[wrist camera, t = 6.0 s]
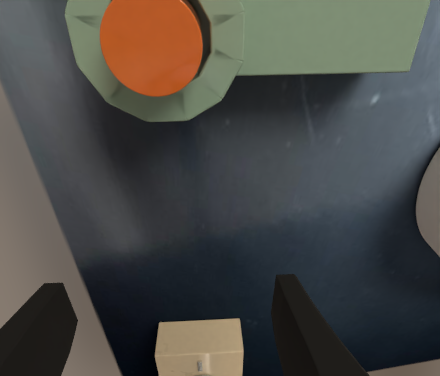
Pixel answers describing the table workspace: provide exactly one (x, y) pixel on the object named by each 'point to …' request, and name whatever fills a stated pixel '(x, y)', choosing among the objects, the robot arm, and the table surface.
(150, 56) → the push button
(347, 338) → the table surface
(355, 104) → the table surface
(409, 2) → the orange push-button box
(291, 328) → the robot arm
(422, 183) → the round zippered pouch
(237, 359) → the beige rotary knob box
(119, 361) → the table surface
